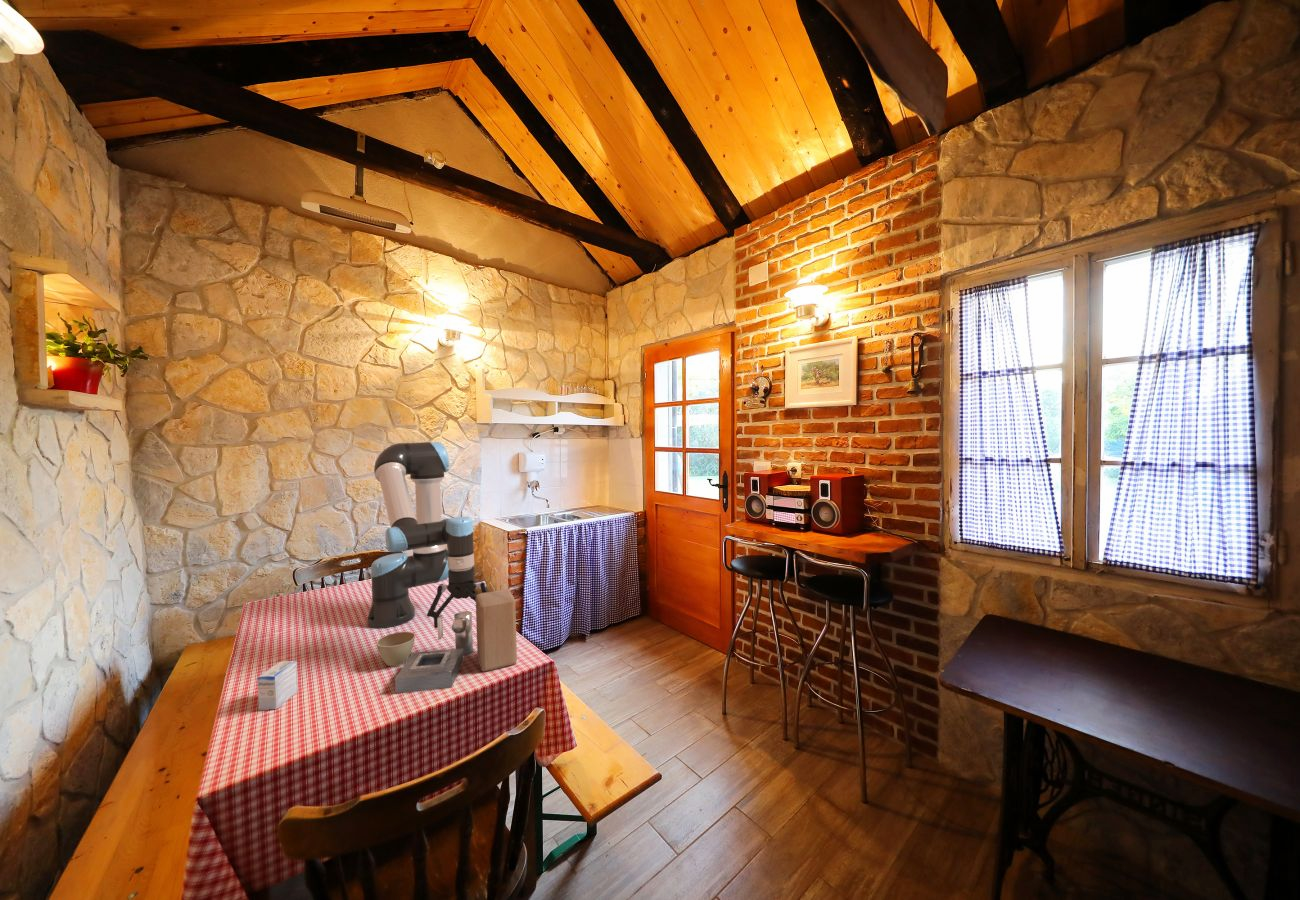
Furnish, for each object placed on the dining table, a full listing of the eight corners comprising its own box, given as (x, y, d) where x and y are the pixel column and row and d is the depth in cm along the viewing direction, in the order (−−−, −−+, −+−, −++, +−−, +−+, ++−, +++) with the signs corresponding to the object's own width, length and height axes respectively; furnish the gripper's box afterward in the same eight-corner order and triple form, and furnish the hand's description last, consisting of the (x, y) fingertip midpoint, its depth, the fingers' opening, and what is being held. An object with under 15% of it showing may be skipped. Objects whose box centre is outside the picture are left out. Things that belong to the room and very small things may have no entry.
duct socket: (413, 666, 135) (412, 650, 134) (463, 661, 137) (462, 645, 137) (395, 693, 121) (394, 675, 121) (451, 687, 123) (451, 669, 123)
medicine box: (280, 692, 122) (279, 661, 122) (298, 691, 122) (297, 660, 122) (258, 711, 114) (256, 677, 114) (277, 709, 115) (275, 676, 114)
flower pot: (399, 672, 132) (398, 648, 131) (369, 669, 134) (368, 645, 133) (423, 655, 141) (422, 632, 141) (395, 652, 143) (394, 630, 143)
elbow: (457, 649, 145) (456, 610, 144) (474, 647, 146) (473, 609, 145) (451, 662, 137) (449, 621, 136) (469, 660, 138) (467, 619, 137)
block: (481, 673, 130) (479, 604, 129) (477, 658, 139) (474, 593, 138) (517, 664, 135) (515, 597, 134) (511, 650, 144) (509, 587, 143)
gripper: (413, 574, 136) (416, 645, 137) (501, 568, 140) (504, 636, 141) (421, 567, 143) (424, 634, 144) (504, 561, 148) (507, 626, 148)
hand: (463, 635), depth 142 cm, fingers open, 13 cm apart
